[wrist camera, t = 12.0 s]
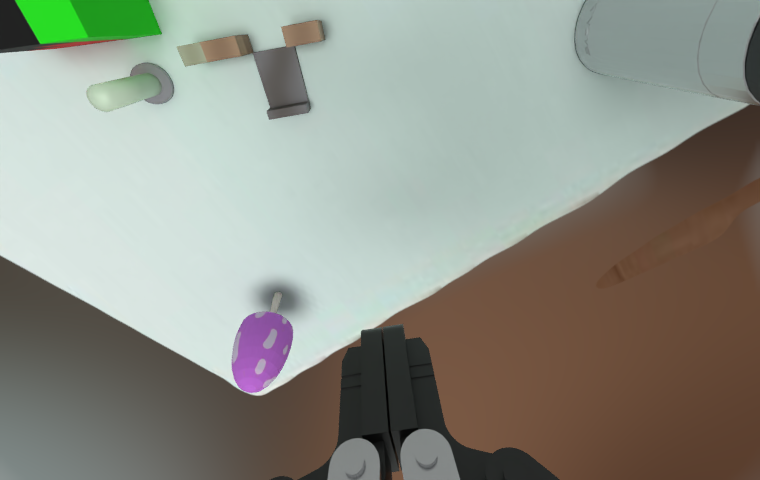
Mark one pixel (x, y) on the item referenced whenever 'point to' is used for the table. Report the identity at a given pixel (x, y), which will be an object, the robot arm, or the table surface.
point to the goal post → (132, 89)
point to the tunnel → (266, 64)
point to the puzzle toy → (72, 23)
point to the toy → (261, 348)
